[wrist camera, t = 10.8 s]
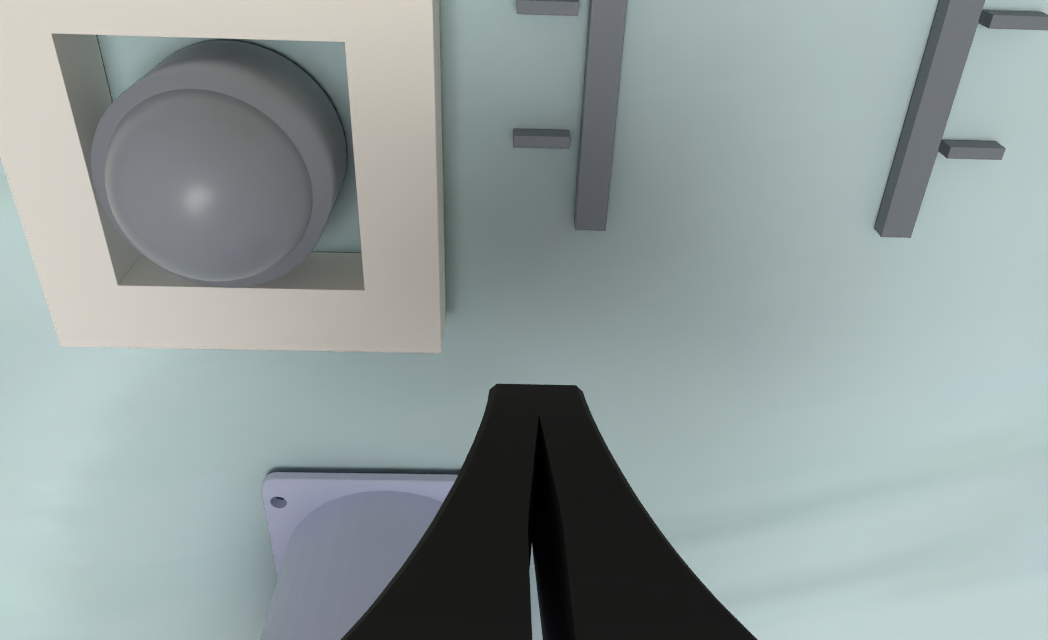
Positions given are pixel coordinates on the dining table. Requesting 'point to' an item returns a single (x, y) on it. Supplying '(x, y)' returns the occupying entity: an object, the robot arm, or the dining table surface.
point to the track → (916, 141)
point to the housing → (245, 312)
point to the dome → (221, 164)
